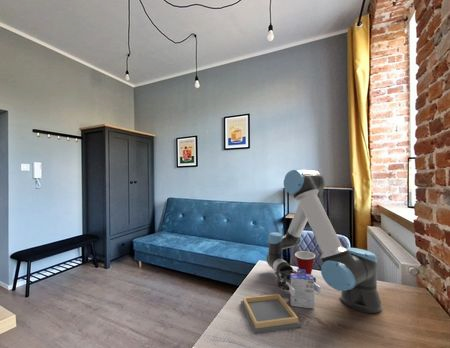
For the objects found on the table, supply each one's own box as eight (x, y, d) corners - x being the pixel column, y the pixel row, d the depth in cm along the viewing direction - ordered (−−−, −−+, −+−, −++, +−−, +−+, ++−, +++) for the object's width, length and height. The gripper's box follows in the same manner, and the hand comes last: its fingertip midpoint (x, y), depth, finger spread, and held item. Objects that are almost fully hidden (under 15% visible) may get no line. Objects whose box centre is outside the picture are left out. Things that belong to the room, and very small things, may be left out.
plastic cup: (290, 272, 126) (290, 251, 126) (306, 270, 129) (306, 249, 129) (302, 281, 115) (302, 258, 115) (319, 278, 118) (319, 256, 118)
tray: (279, 299, 99) (279, 292, 99) (301, 326, 81) (301, 318, 81) (240, 303, 95) (240, 296, 95) (254, 333, 77) (254, 325, 77)
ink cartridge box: (312, 301, 97) (312, 269, 97) (315, 309, 92) (315, 274, 92) (289, 299, 99) (289, 267, 99) (290, 306, 94) (290, 272, 94)
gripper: (303, 274, 115) (331, 297, 94) (261, 278, 111) (280, 303, 89) (303, 260, 115) (332, 280, 94) (261, 263, 111) (280, 285, 89)
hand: (307, 291), depth 91 cm, fingers open, 11 cm apart
